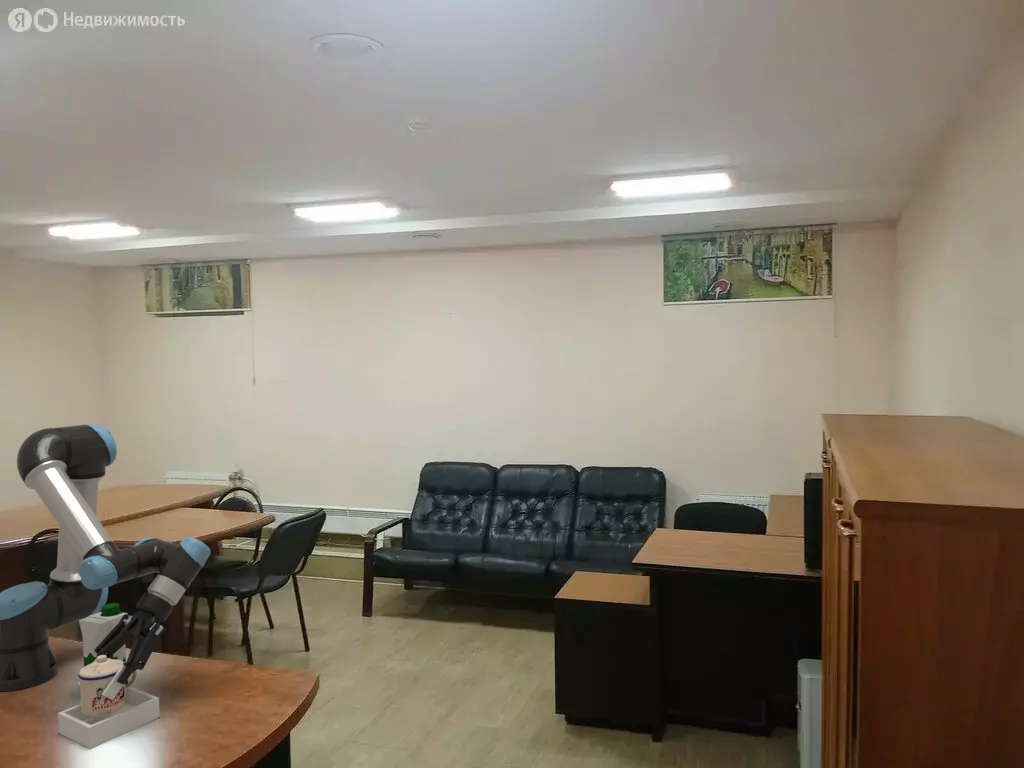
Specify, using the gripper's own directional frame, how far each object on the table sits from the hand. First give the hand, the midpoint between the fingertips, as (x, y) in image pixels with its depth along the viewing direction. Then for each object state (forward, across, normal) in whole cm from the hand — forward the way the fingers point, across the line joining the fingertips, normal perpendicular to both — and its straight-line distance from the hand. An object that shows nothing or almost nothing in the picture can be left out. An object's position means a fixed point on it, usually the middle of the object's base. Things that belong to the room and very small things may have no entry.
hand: (95, 692), depth 161 cm
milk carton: (-3, +20, -16) cm, 26 cm away
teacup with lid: (+1, 0, -5) cm, 5 cm away
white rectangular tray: (+4, 0, -8) cm, 9 cm away
